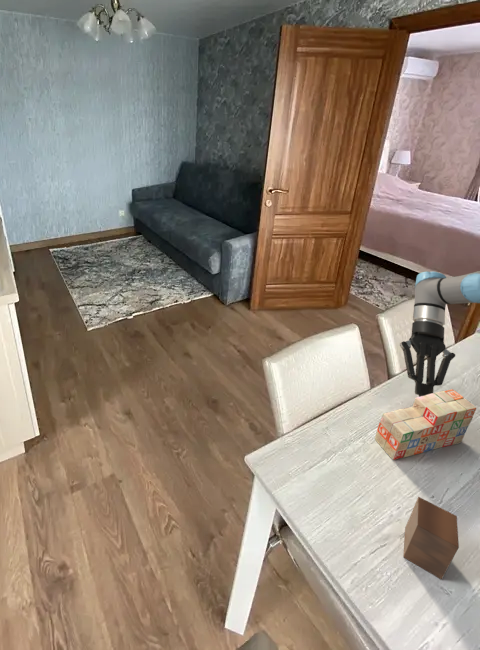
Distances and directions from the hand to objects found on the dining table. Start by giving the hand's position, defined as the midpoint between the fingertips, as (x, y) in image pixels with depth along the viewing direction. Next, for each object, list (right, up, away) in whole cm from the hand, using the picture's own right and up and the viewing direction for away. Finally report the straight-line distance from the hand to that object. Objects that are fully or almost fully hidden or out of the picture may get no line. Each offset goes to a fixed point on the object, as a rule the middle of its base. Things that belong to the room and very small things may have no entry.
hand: (422, 409), depth 92 cm
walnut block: (-19, -16, -26) cm, 35 cm away
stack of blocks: (-4, -7, -3) cm, 8 cm away
